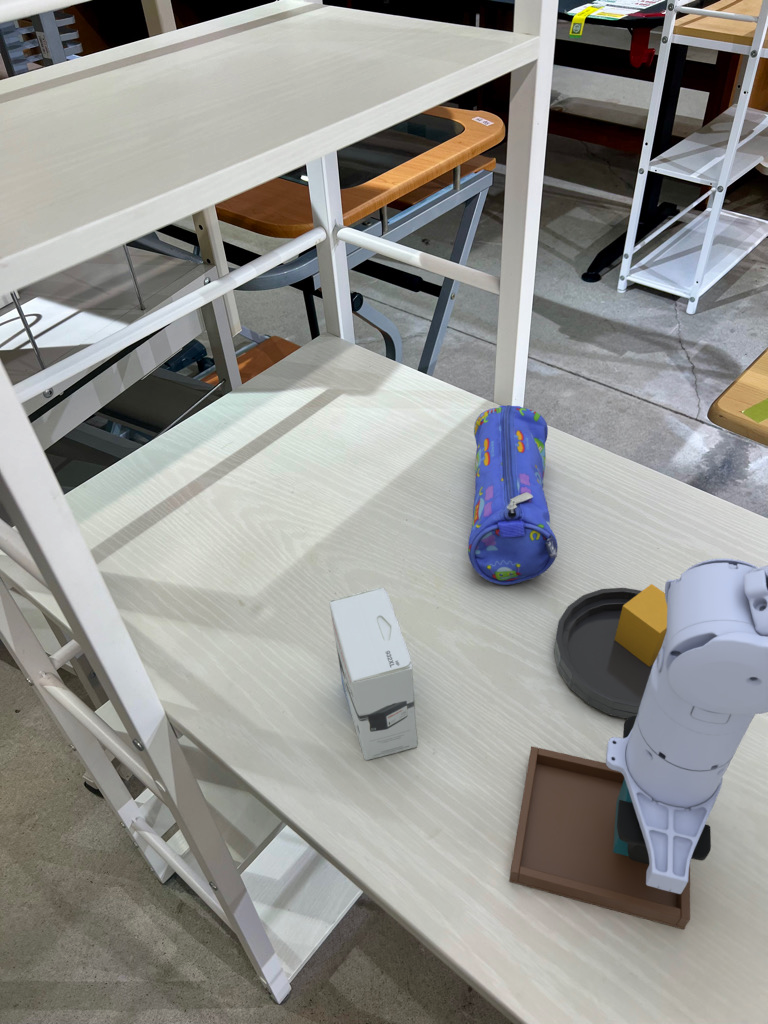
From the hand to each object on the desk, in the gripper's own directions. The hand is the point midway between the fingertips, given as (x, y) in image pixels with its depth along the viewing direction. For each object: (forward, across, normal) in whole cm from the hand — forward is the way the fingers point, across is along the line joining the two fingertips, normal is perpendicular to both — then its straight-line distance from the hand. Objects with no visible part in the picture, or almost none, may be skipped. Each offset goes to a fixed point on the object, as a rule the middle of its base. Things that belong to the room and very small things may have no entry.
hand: (645, 826), depth 54 cm
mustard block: (+3, -19, 0) cm, 19 cm away
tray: (+3, 0, -3) cm, 4 cm away
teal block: (+1, 0, 0) cm, 1 cm away
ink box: (+3, -6, -22) cm, 23 cm away
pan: (+3, -17, -2) cm, 17 cm away
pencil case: (+3, -33, -15) cm, 37 cm away
